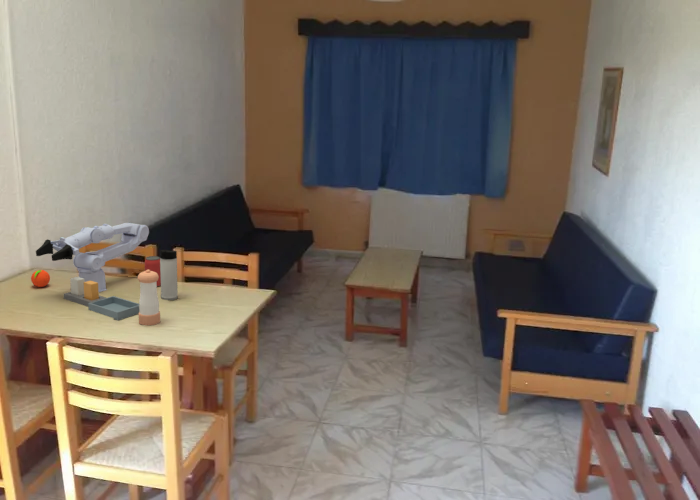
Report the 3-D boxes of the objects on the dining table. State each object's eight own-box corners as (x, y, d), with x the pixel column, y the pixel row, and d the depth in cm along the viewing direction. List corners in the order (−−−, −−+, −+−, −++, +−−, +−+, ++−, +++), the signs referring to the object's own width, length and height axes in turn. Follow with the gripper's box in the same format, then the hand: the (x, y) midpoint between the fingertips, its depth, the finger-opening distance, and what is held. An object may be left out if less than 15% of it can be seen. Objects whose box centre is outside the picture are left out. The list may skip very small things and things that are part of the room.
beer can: (146, 288, 258) (145, 260, 255) (143, 283, 263) (143, 256, 261) (163, 286, 261) (162, 259, 258) (159, 282, 266) (159, 255, 264)
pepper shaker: (148, 327, 216) (146, 273, 212) (134, 322, 220) (132, 270, 215) (164, 321, 222) (163, 269, 218) (150, 316, 226) (149, 265, 221)
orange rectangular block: (91, 300, 238) (90, 280, 236) (99, 303, 236) (98, 282, 234) (84, 302, 236) (83, 282, 234) (92, 305, 234) (91, 284, 232)
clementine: (44, 290, 249) (43, 273, 247) (26, 289, 249) (25, 272, 247) (53, 284, 257) (52, 267, 255) (36, 283, 257) (35, 267, 255)
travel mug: (157, 299, 245) (155, 250, 240) (168, 295, 251) (166, 246, 246) (170, 302, 242) (169, 252, 238) (180, 297, 248) (180, 248, 244)
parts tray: (113, 303, 238) (113, 295, 237) (142, 312, 230) (142, 304, 229) (88, 310, 229) (88, 303, 228) (117, 320, 221) (117, 312, 220)
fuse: (78, 296, 242) (77, 276, 240) (85, 298, 240) (84, 278, 238) (71, 298, 240) (70, 278, 238) (78, 300, 238) (77, 280, 236)
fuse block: (80, 295, 245) (79, 289, 244) (106, 303, 237) (106, 297, 236) (63, 299, 239) (63, 293, 239) (90, 308, 231) (90, 302, 231)
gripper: (57, 229, 240) (28, 241, 228) (86, 237, 235) (58, 250, 223) (59, 246, 242) (30, 259, 231) (88, 254, 238) (60, 267, 226)
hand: (44, 255), depth 227 cm, fingers open, 7 cm apart
